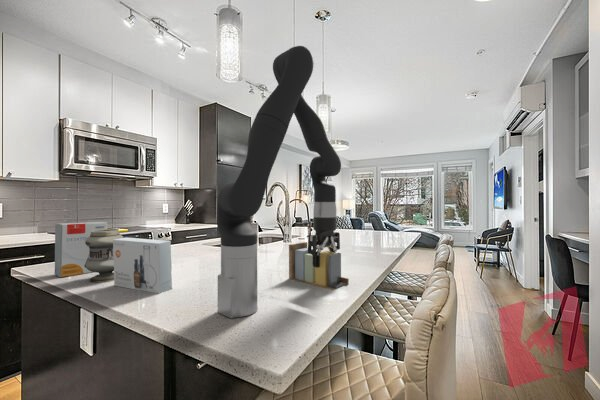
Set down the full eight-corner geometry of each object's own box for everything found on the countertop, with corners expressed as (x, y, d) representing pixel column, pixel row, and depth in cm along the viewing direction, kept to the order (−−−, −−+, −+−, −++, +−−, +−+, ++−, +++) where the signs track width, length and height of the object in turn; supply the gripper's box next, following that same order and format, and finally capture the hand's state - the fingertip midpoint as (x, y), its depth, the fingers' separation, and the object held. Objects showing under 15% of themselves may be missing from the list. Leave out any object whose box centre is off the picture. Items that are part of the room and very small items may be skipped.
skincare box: (112, 286, 95) (111, 239, 95) (127, 282, 100) (127, 237, 100) (158, 294, 87) (158, 242, 87) (172, 289, 92) (172, 240, 92)
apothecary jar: (76, 282, 100) (76, 231, 100) (106, 273, 112) (106, 227, 112) (104, 284, 97) (104, 231, 97) (132, 275, 109) (132, 228, 109)
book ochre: (325, 286, 90) (325, 254, 90) (315, 283, 93) (315, 253, 93) (335, 282, 94) (335, 252, 94) (325, 280, 97) (325, 250, 97)
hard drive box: (59, 278, 105) (59, 224, 105) (54, 275, 110) (53, 223, 110) (107, 270, 117) (107, 221, 117) (100, 267, 122) (100, 221, 122)
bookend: (335, 288, 87) (335, 256, 87) (328, 286, 89) (328, 255, 89) (345, 284, 91) (345, 253, 91) (338, 283, 93) (338, 252, 93)
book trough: (333, 293, 86) (333, 251, 86) (289, 281, 99) (288, 244, 99) (348, 287, 92) (348, 247, 92) (305, 277, 105) (304, 242, 105)
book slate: (303, 280, 96) (303, 251, 96) (295, 278, 99) (294, 249, 99) (313, 277, 100) (313, 249, 100) (305, 275, 103) (305, 247, 103)
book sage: (312, 282, 94) (312, 255, 94) (304, 280, 96) (304, 254, 96) (322, 279, 98) (322, 253, 98) (314, 277, 100) (314, 252, 100)
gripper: (320, 217, 86) (320, 270, 86) (346, 215, 96) (346, 263, 96) (301, 216, 91) (301, 266, 91) (328, 214, 101) (328, 260, 101)
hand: (324, 265), depth 93 cm, fingers open, 8 cm apart
